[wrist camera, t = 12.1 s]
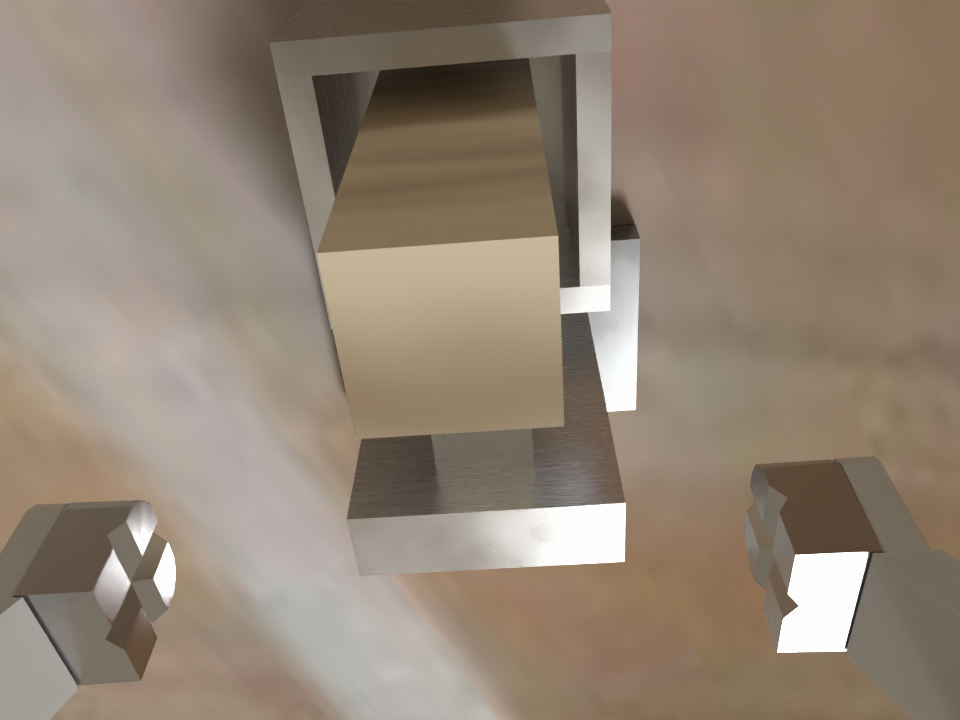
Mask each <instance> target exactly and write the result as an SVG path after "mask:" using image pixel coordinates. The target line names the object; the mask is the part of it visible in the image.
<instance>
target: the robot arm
mask: <svg viewBox="0 0 960 720" xmlns="http://www.w3.org/2000/svg"><path fill="white" fill-rule="evenodd" d="M750 487H751V490H752V493H753V496H754V499H755V503H754V504H753V505H752V506H751V507H750V508H749V509H748V510H747V514H746V524H745V537H746V551H747V555H748V560H749V565H750V568H751V572H752V575H753V578H754V581H755V582H757V583H758V584H759V585H760V586H762V587H763V588H764V589H765V590H766V594H765V600H764V607H763V610H764V613H765V616H766V619H767V622H768V625H769V628H770V631H771V634H772V637H773V640H774V643H775V646H776V649H777V652H814V651H846V655H847V656H848V657H849V658H850V659H851V660H852V661H853V662H854V663H855V664H856V665H857V666H858V667H859V668H860V669H861V670H862V671H863V672H864V673H865V674H867V675H868V676H869V677H870V678H871V679H872V680H873V681H874V682H875V683H876V684H877V685H878V686H879V687H880V688H881V689H882V690H883V691H884V692H885V693H886V694H887V695H888V696H889V697H890V698H891V699H892V700H893V701H894V702H895V703H896V704H897V705H898V706H899V707H900V708H901V709H903V710H904V711H905V712H906V713H907V714H908V715H909V716H910V717H911V718H912V719H913V720H960V561H959V560H958V559H956V558H955V557H953V556H951V555H950V554H948V553H947V552H945V551H944V550H930V548H929V546H928V545H927V543H926V541H925V539H924V537H923V536H922V534H921V532H920V530H919V529H918V527H917V525H916V523H915V521H914V520H913V518H912V516H911V514H910V513H909V511H908V509H907V507H906V505H905V504H904V502H903V500H902V498H901V497H900V495H899V493H898V491H897V489H896V488H895V486H894V484H893V482H892V481H891V479H890V477H889V475H888V473H887V472H886V470H885V468H884V466H883V465H882V463H881V461H880V460H878V459H877V458H876V457H874V456H869V457H855V458H841V459H834V460H815V461H800V462H785V463H770V464H756V465H755V467H754V470H753V472H752V477H751V484H750ZM157 521H158V519H157V517H156V515H155V513H154V511H153V509H152V507H151V505H150V503H149V502H145V501H141V500H134V501H104V502H74V503H70V504H37V505H35V506H34V507H32V508H31V509H29V510H28V511H26V513H25V514H24V516H23V517H22V519H21V521H20V522H19V524H18V525H17V527H16V529H15V530H14V532H13V534H12V535H11V537H10V538H9V540H8V542H7V543H6V545H5V547H4V548H3V550H2V551H1V553H0V720H50V719H51V718H52V717H53V716H54V715H55V714H56V712H57V711H58V710H59V709H60V708H61V707H62V706H63V705H64V704H65V703H66V702H67V701H68V700H69V699H70V698H71V697H72V696H73V695H74V694H75V693H76V691H77V690H78V689H79V687H78V686H77V685H90V684H104V683H118V682H131V681H141V679H142V677H143V674H144V671H145V669H146V666H147V663H148V661H149V658H150V655H151V653H152V650H153V648H154V645H155V642H156V640H157V636H156V634H155V632H154V629H153V627H152V625H151V624H152V623H153V622H155V621H156V620H157V619H158V618H159V617H160V616H161V615H162V614H164V613H165V612H166V611H167V610H168V607H169V605H170V602H171V599H172V596H173V593H174V586H175V575H176V568H175V563H174V557H173V553H172V551H171V548H170V546H169V544H168V542H167V541H165V540H164V539H162V538H161V537H159V536H158V535H157V534H155V533H154V532H153V530H154V528H155V526H156V523H157Z"/></svg>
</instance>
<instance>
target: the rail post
mask: <svg viewBox="0 0 960 720" xmlns="http://www.w3.org/2000/svg"><path fill="white" fill-rule="evenodd" d="M316 254H317V259H318V263H319V268H320V273H321V278H322V282H323V287H324V292H325V296H326V301H327V306H328V311H329V315H330V320H331V325H332V329H333V334H334V339H335V344H336V348H337V353H338V358H339V362H340V367H341V372H342V376H343V381H344V386H345V391H346V395H347V400H348V405H349V409H350V414H351V419H352V424H353V428H354V433H355V438H356V439H368V438H384V437H400V436H416V435H433V434H449V433H465V432H481V431H497V430H513V429H530V428H546V427H562V426H564V400H563V369H562V338H561V307H560V275H559V244H558V231H557V225H556V219H555V213H554V207H553V201H552V195H551V189H550V183H549V177H548V171H547V165H546V159H545V153H544V147H543V141H542V135H541V129H540V123H539V117H538V111H537V105H536V99H535V93H534V87H533V81H532V75H531V69H530V63H529V58H521V59H509V60H497V61H485V62H473V63H461V64H449V65H437V66H425V67H414V68H402V69H390V70H380V72H379V75H378V78H377V81H376V84H375V87H374V89H373V92H372V95H371V98H370V101H369V104H368V107H367V109H366V112H365V115H364V118H363V121H362V124H361V127H360V130H359V132H358V135H357V138H356V141H355V144H354V147H353V150H352V152H351V155H350V158H349V161H348V164H347V167H346V170H345V173H344V175H343V178H342V181H341V184H340V187H339V190H338V193H337V196H336V198H335V201H334V204H333V207H332V210H331V213H330V216H329V218H328V221H327V224H326V227H325V230H324V233H323V236H322V239H321V241H320V244H319V247H318V250H317V253H316Z"/></svg>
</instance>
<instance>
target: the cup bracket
mask: <svg viewBox="0 0 960 720" xmlns="http://www.w3.org/2000/svg"><path fill="white" fill-rule="evenodd" d="M269 44H270V49H271V53H272V58H273V63H274V67H275V72H276V77H277V81H278V86H279V91H280V95H281V100H282V105H283V109H284V114H285V118H286V123H287V128H288V132H289V137H290V142H291V146H292V151H293V156H294V160H295V165H296V170H297V174H298V179H299V184H300V188H301V193H302V198H303V202H304V207H305V211H306V216H307V221H308V225H309V230H310V235H311V239H312V244H313V249H314V253H315V258H316V263H317V267H318V272H319V277H320V281H321V286H322V290H323V295H324V300H325V304H326V309H327V314H328V318H329V323H330V328H331V330H333V329H332V325H331V320H330V315H329V311H328V306H327V301H326V296H325V292H324V287H323V282H322V278H321V273H320V268H319V263H318V259H317V254H316V253H317V250H318V247H319V244H320V241H321V239H322V236H323V233H324V230H325V227H326V224H327V221H328V218H329V216H330V213H331V210H332V207H333V204H334V201H335V198H336V196H337V193H338V190H339V187H340V184H341V181H342V178H343V175H344V173H345V170H346V167H347V164H348V161H349V158H350V155H351V152H352V150H353V147H354V144H355V141H356V138H357V135H358V132H359V130H360V127H361V124H362V121H363V118H364V115H365V112H366V109H367V107H368V104H369V101H370V98H371V95H372V92H373V89H374V87H375V84H376V81H377V78H378V75H379V72H380V70H390V69H402V68H414V67H425V66H437V65H449V64H461V63H473V62H485V61H497V60H509V59H521V58H529V63H530V69H531V75H532V81H533V87H534V93H535V99H536V105H537V111H538V117H539V123H540V129H541V135H542V141H543V147H544V153H545V159H546V165H547V171H548V177H549V183H550V189H551V195H552V201H553V207H554V213H555V219H556V225H557V231H558V244H559V275H560V307H561V338H562V369H563V400H564V426H562V427H546V428H530V429H513V430H497V431H481V432H465V433H449V434H433V435H416V436H400V437H384V438H368V439H361V444H360V449H359V455H358V460H357V466H356V471H355V477H354V482H353V488H352V493H351V499H350V504H349V509H348V515H347V523H348V527H349V531H350V536H351V540H352V544H353V548H354V552H355V557H356V561H357V565H358V569H359V573H360V576H370V575H388V574H407V573H425V572H443V571H461V570H479V569H497V568H515V567H534V566H552V565H570V564H588V563H606V562H624V552H625V498H624V493H623V488H622V483H621V478H620V473H619V468H618V463H617V458H616V453H615V448H614V443H613V438H612V433H611V428H610V423H609V418H608V413H607V412H610V411H625V410H636V379H637V341H638V303H639V265H640V237H639V234H638V231H637V228H636V225H624V226H611V66H612V13H611V11H610V9H609V7H608V6H607V4H606V2H605V0H303V1H302V3H301V4H300V5H299V6H298V8H297V9H296V10H295V11H294V13H293V14H292V15H291V16H290V18H289V19H288V20H287V21H286V22H285V24H284V25H283V26H282V27H281V29H280V30H279V31H278V32H277V34H276V35H275V36H274V37H273V39H272V40H271V41H270V42H269Z"/></svg>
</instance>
